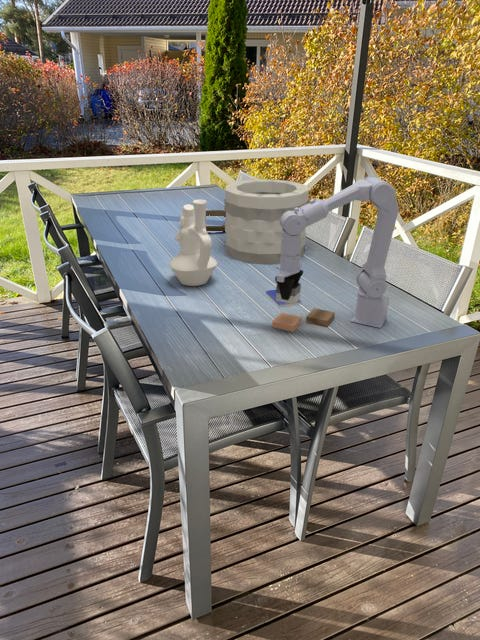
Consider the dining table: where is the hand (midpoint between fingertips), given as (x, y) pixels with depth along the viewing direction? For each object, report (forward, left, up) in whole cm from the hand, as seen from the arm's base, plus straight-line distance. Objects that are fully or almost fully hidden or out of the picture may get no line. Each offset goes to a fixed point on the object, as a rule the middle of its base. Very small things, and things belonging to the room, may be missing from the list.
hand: (288, 296), depth 151 cm
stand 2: (-8, -8, -10) cm, 15 cm away
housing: (0, 0, -1) cm, 1 cm away
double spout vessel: (+43, -15, -10) cm, 47 cm away
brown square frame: (+76, -84, -10) cm, 114 cm away
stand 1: (0, 0, -10) cm, 10 cm away
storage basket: (+36, -61, -10) cm, 72 cm away
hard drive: (+9, -18, -11) cm, 23 cm away
